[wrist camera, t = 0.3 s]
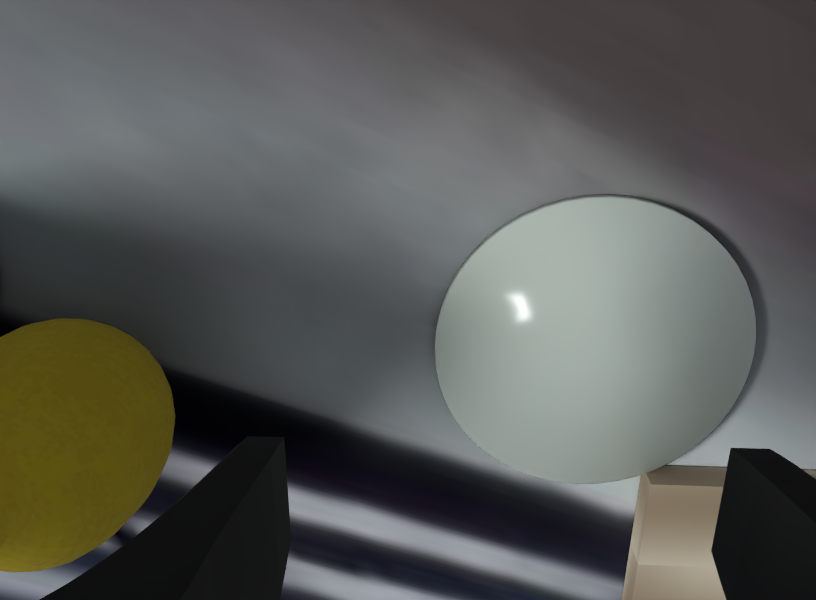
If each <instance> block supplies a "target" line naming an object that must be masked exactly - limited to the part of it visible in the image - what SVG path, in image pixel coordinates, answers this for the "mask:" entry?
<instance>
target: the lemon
mask: <svg viewBox="0 0 816 600" xmlns="http://www.w3.org/2000/svg"><path fill="white" fill-rule="evenodd" d="M174 424H175V410H174V404H173V398H172V392H171V388H170V385H169V383H168V381H167V379H166V377H165V374H164V372H163V370H162V368H161V366H160V365H159V363H158V362H157V361H156V359H155V358H154V357H153V356H152V354H151V353H150V352H149V350H148V349H146V348H145V347H144V346H143V345H142V344H140V343H139V342H138V341H137V340H136V339H134V338H133V337H132V336H130V335H128V334H126V333H124V332H123V331H121V330H119V329H117V328H115V327H113V326H110V325H106V324H103V323H99V322H96V321H92V320H87V319H71V318H59V319H52V320H47V321H42V322H37V323H32V324H29V325H25V326H23V327H20V328H18V329H16V330H14V331H12V332H10V333H8V334H6V335H4V336H2V337H0V571H6V572H29V571H41V570H45V569H49V568H52V567H56V566H60V565H63V564H66V563H69V562H72V561H73V560H75V559H77V558H79V557H80V556H82V555H84V554H86V553H87V552H89V551H91V550H93V549H94V548H96V547H98V546H100V545H101V544H102V543H104V542H105V541H106V540H108V539H109V538H110V537H111V536H112V535H114V534H115V533H116V532H117V531H118V530H119V529H120V528H121V527H122V526H123V525H124V524H125V523H126V522H127V521H128V519H129V518H130V517H131V516H132V515H133V514H134V513H135V512H136V511H137V510H138V509H139V508H140V507H141V505H142V504H143V503H144V502H145V500H146V499H147V498H148V496H149V495H150V493H151V492H152V490H153V489H154V487H155V485H156V483H157V481H158V479H159V476H160V474H161V472H162V470H163V468H164V466H165V464H166V461H167V459H168V456H169V453H170V450H171V445H172V439H173V432H174Z"/></svg>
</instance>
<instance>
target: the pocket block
mask: <svg viewBox="0 0 816 600" xmlns="http://www.w3.org/2000/svg"><path fill="white" fill-rule="evenodd" d="M726 471H727V468H726V467H695V466H665V465H664V466H662V467H660V468H657V469H655V470H653V471H650V472H646V473H644V474H641V479H640V485H639V492H638V498H637V505H636V511H635V518H634V524H633V530H632V537H631V543H630V550H629V556H628V563H627V569H626V576H625V582H624V589H623V595H622V600H726V597H725V594H724V591H723V588H722V585H721V582H720V579H719V575H718V572H717V569H716V565H715V562H714V559H713V555H712V552H711V549H712V544H713V539H714V534H715V528H716V523H717V518H718V513H719V507H720V502H721V497H722V492H723V487H724V481H725V476H726ZM803 471H805V472H806V473H808V474H809V475H811V476H812V477H814V478H815V479H816V470H803Z"/></svg>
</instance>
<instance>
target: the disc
mask: <svg viewBox="0 0 816 600" xmlns="http://www.w3.org/2000/svg"><path fill="white" fill-rule="evenodd" d="M755 343H756V317H755V312H754V306H753V300H752V297H751V294H750V291H749V288H748V285H747V282H746V280H745V278H744V276H743V275H742V273H741V271H740V269H739V267H738V265H737V264H736V262H735V261H734V260H733V258H732V257H731V255H730V254H729V253H728V251H727V250H726V249H725V248H724V247H723V246H722V245H721V244H720V243H719V242H718V241H717V240H716V239H715V238H714V237H713V236H712V235H711V234H710V233H709V232H708V231H707V230H706V229H704V228H703V227H702V226H700V225H699V224H698V223H696V222H695V221H693V220H692V219H691V218H689V217H687V216H685V215H683V214H682V213H680V212H678V211H676V210H674V209H672V208H670V207H667V206H664V205H662V204H659V203H656V202H653V201H650V200H645V199H641V198H636V197H632V196H623V195H611V194H602V195H584V196H578V197H572V198H566V199H562V200H558V201H555V202H552V203H548V204H545V205H542V206H539V207H537V208H535V209H533V210H530V211H528V212H526V213H523V214H521V215H520V216H518V217H516V218H515V219H513V220H511V221H510V222H508V223H506V224H504V225H503V226H502V227H500V228H499V229H498V230H496V231H495V232H494V233H493V234H491V235H490V236H489V237H487V238H486V239H485V240H484V241H483V242H482V243H481V244H480V245H479V246H478V247H477V248H476V249H475V250H474V251H473V252H472V253H471V254H470V256H469V257H468V258H467V259H466V261H465V262H464V263H463V265H462V266H461V267H460V269H459V270H458V272H457V273H456V275H455V277H454V279H453V280H452V282H451V284H450V286H449V287H448V290H447V292H446V295H445V297H444V300H443V302H442V305H441V309H440V313H439V317H438V321H437V326H436V336H435V363H436V371H437V376H438V381H439V385H440V388H441V391H442V394H443V397H444V400H445V402H446V404H447V406H448V408H449V410H450V411H451V413H452V415H453V417H454V418H455V420H456V421H457V423H458V424H459V425H460V427H461V428H462V430H463V431H464V432H465V433H466V434H467V435H468V436H469V437H470V438H471V439H472V441H473V442H474V443H475V444H476V445H478V446H479V447H480V448H481V449H483V450H484V451H485V452H486V453H488V454H489V455H490V456H492V457H493V458H495V459H497V460H498V461H500V462H501V463H503V464H505V465H507V466H509V467H511V468H513V469H515V470H517V471H520V472H522V473H525V474H528V475H531V476H534V477H537V478H540V479H545V480H550V481H555V482H561V483H573V484H598V483H605V482H613V481H619V480H623V479H627V478H632V477H636V476H639V475H641V474H644V473H646V472H650V471H653V470H655V469H657V468H660V467H662V466H664V465H666V464H668V463H670V462H672V461H674V460H675V459H677V458H679V457H680V456H682V455H683V454H685V453H687V452H688V451H690V450H691V449H692V448H694V447H695V446H696V445H697V444H699V443H700V442H701V441H702V440H704V439H705V438H706V437H707V436H708V435H709V434H710V433H711V432H712V431H713V430H714V429H715V428H716V427H717V426H718V425H719V424H720V422H721V421H722V420H723V419H724V417H725V416H726V415H727V414H728V412H729V411H730V410H731V408H732V407H733V405H734V403H735V402H736V400H737V398H738V397H739V395H740V393H741V391H742V389H743V387H744V384H745V382H746V380H747V377H748V375H749V372H750V368H751V364H752V361H753V357H754V350H755Z"/></svg>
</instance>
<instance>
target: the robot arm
mask: <svg viewBox="0 0 816 600" xmlns="http://www.w3.org/2000/svg"><path fill="white" fill-rule="evenodd" d="M290 541H291V534H290V518H289V503H288V488H287V472H286V457H285V442H284V437H254V436H247V437H246V438H245V439H244V440H243V441H242V442H241V443H240V444H238V445H237V446H236V447H235V448H234V449H233V450H232V451H231V452H230V453H229V454H228V455H227V456H226V457H225V458H224V459H223V460H222V461H221V462H219V463H218V464H217V465H216V466H215V467H214V468H213V469H212V470H211V471H210V472H209V473H208V474H207V475H206V476H205V477H204V478H203V479H202V480H201V481H200V482H199V483H197V484H196V485H195V486H194V487H193V488H192V489H191V490H190V491H189V492H188V493H186V494H185V495H184V496H183V497H182V498H181V499H180V500H179V501H178V502H177V503H175V504H174V505H173V506H172V507H171V508H170V509H169V510H167V511H166V512H165V513H164V514H163V515H161V516H160V517H159V518H158V519H156V520H155V521H154V522H153V523H152V524H150V525H149V526H148V527H147V528H145V529H144V530H143V531H142V532H141V533H139V534H138V535H137V536H136V537H134V538H133V539H132V540H131V541H129V542H128V543H127V544H125V545H124V546H123V547H121V548H120V549H118V550H117V551H116V552H114V553H113V554H111V555H110V556H109V557H107V558H106V559H104V560H103V561H101V562H100V563H98V564H97V565H95V566H94V567H92V568H91V569H89V570H88V571H86V572H85V573H83V574H82V575H80V576H79V577H77V578H76V579H74V580H73V581H71V582H69V583H68V584H66V585H64V586H63V587H61V588H59V589H57V590H56V591H54V592H52V593H50V594H49V595H47V596H45V597H43V598H42V599H40V600H279V599H280V595H281V590H282V585H283V580H284V575H285V570H286V564H287V558H288V552H289V547H290ZM711 552H712V555H713V559H714V562H715V565H716V569H717V572H718V575H719V579H720V582H721V585H722V588H723V591H724V594H725V597H726V600H816V479H815V478H814V477H812V476H811V475H809V474H808V473H806V472H805V471H803V470H802V469H801V468H799V467H798V466H796V465H795V464H793V463H792V462H790V461H789V460H787V459H785V458H784V457H782V456H781V455H779V454H777V453H776V452H774V451H772V450H770V449H749V448H731V450H730V455H729V460H728V466H727V471H726V476H725V481H724V487H723V492H722V497H721V502H720V507H719V513H718V518H717V523H716V528H715V534H714V539H713V544H712V549H711Z"/></svg>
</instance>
